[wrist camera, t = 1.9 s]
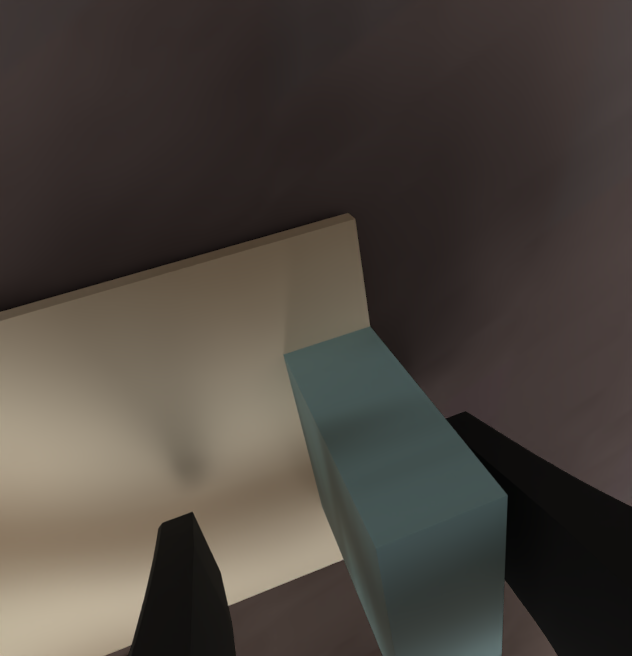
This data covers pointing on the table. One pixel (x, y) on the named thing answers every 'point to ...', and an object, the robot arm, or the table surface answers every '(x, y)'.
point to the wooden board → (235, 452)
